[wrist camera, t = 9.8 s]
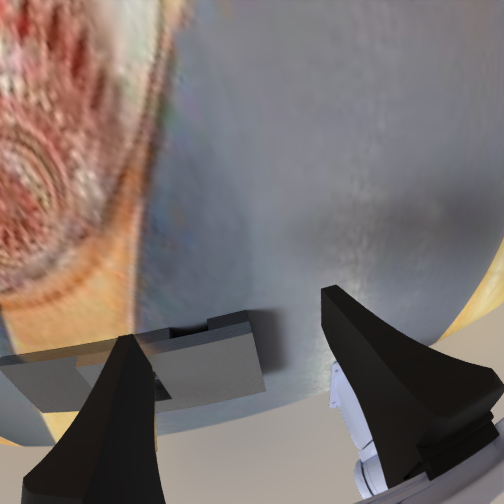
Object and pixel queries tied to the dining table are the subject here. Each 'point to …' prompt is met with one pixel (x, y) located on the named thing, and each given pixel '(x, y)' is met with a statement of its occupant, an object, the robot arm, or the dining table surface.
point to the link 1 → (62, 373)
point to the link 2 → (197, 365)
